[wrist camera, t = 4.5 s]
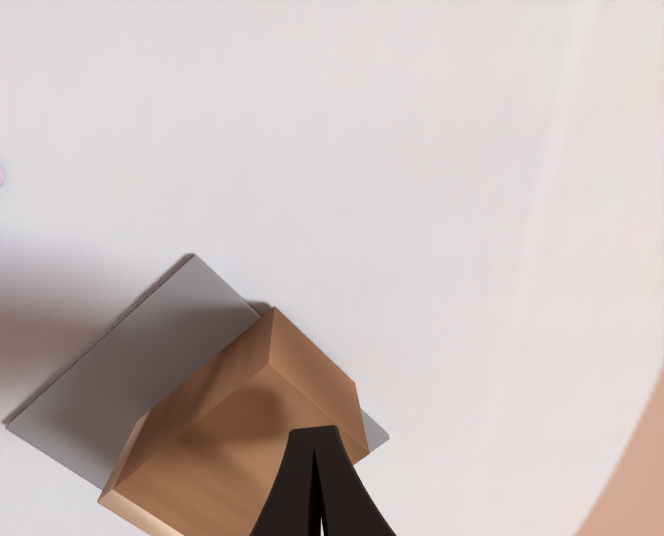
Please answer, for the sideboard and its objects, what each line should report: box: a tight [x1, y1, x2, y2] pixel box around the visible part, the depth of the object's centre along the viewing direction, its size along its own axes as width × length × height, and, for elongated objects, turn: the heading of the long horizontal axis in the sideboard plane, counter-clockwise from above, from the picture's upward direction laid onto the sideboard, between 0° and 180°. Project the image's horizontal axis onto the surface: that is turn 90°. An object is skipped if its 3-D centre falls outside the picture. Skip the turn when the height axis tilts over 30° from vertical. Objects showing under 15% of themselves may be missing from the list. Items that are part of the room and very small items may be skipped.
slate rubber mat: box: [5, 255, 390, 490], centre depth 19 cm, size 11×12×1 cm
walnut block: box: [97, 306, 370, 536], centre depth 17 cm, size 4×5×8 cm
